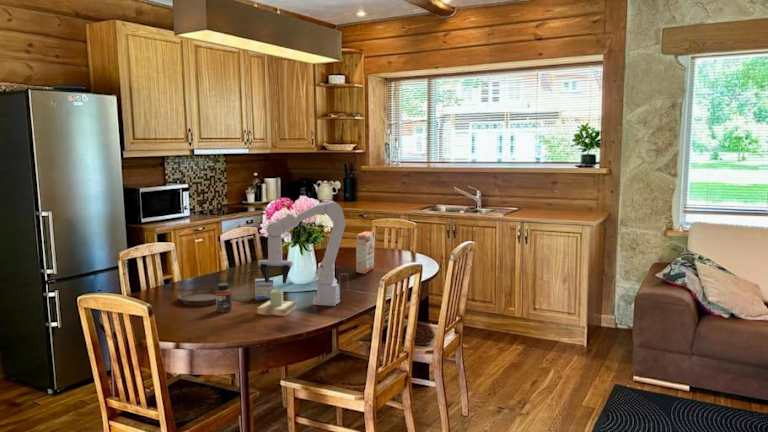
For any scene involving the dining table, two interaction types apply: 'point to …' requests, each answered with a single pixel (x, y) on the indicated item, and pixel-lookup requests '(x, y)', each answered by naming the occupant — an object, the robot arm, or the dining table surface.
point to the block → (276, 298)
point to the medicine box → (263, 288)
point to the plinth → (276, 308)
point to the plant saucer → (198, 296)
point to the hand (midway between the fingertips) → (275, 282)
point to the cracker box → (364, 252)
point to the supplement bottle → (223, 298)
